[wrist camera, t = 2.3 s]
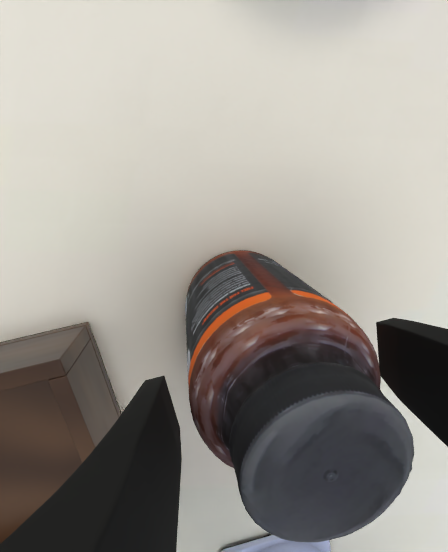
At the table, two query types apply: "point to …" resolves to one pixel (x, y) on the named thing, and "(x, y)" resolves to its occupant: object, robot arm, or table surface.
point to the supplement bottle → (291, 400)
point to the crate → (48, 416)
